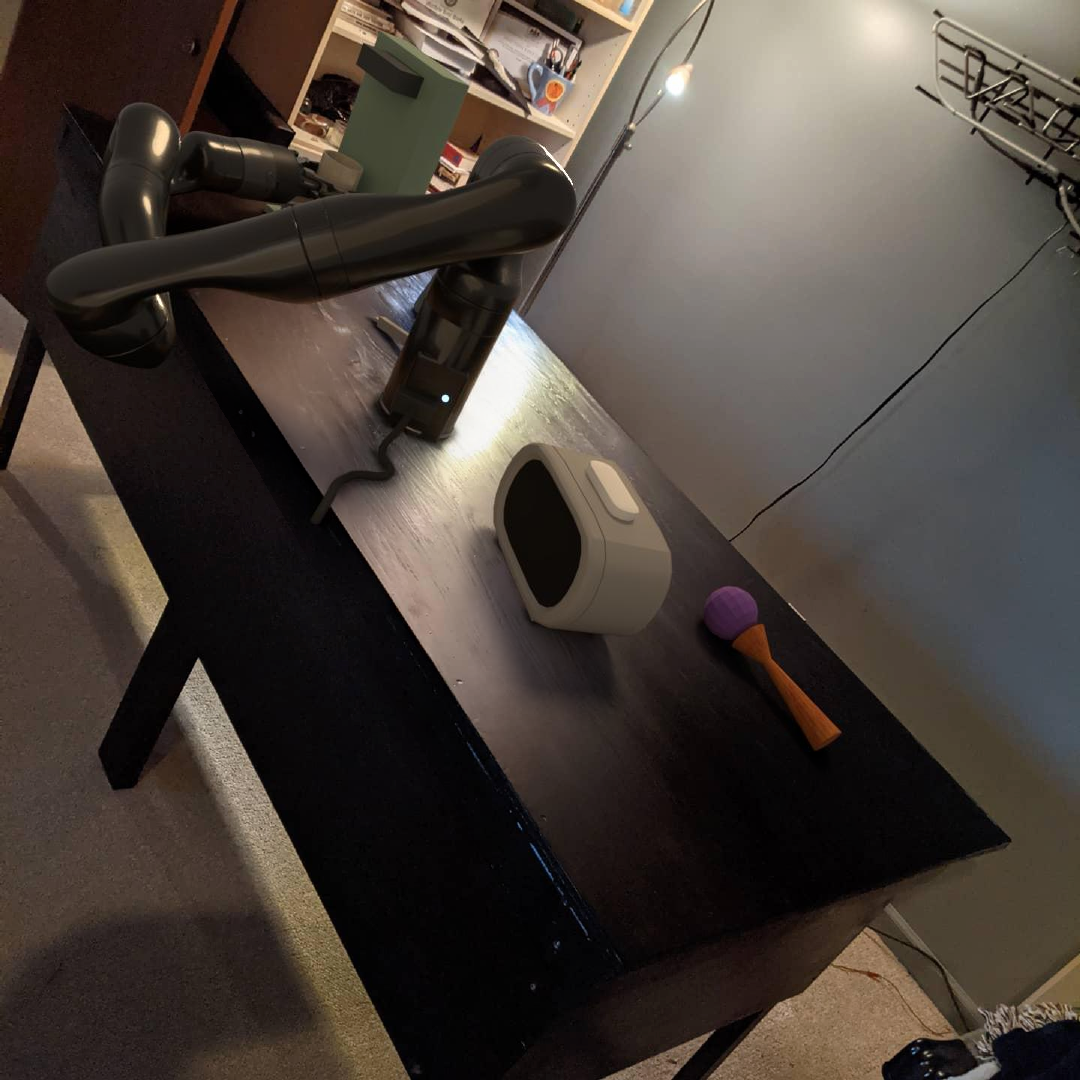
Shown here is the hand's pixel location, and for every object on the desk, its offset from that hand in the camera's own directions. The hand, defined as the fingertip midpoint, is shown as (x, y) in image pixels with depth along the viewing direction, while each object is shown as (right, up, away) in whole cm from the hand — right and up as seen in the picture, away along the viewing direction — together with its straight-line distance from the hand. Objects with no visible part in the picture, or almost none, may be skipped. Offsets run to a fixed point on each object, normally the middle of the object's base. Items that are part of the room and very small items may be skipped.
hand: (345, 186), depth 127 cm
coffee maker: (-3, -6, +5) cm, 9 cm away
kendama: (+53, -69, -34) cm, 93 cm away
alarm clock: (+30, -58, -40) cm, 76 cm away
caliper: (+12, -30, -15) cm, 35 cm away
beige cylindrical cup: (-4, -6, +2) cm, 7 cm away
